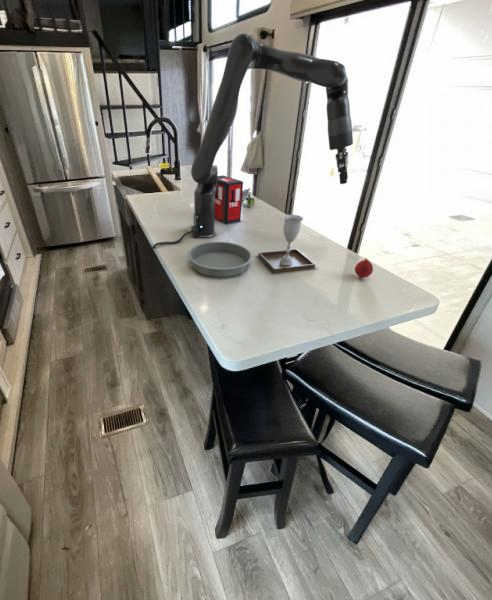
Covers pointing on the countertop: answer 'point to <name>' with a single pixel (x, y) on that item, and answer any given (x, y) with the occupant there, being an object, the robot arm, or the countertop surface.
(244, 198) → the passion flower
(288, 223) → the chalice
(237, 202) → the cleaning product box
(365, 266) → the onion
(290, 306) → the countertop surface
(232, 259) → the cake pan
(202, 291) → the countertop surface
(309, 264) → the tray
